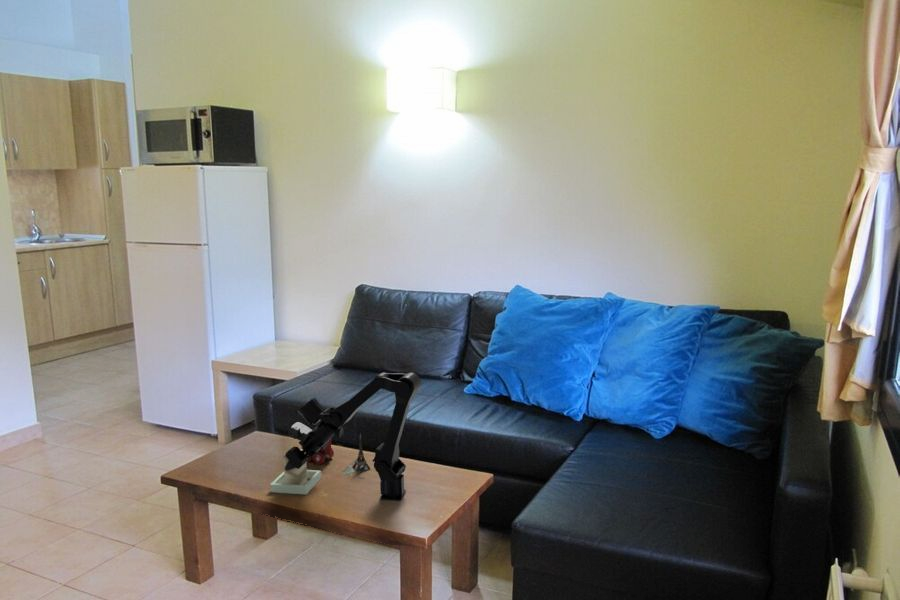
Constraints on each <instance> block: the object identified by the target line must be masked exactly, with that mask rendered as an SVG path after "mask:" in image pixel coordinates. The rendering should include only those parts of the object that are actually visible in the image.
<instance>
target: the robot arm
mask: <svg viewBox="0 0 900 600" xmlns="http://www.w3.org/2000/svg"><path fill="white" fill-rule="evenodd" d="M421 384H422V380H421V378H420V376H419V375H418V374H417V373H414V372H408V373H402V372H400V373H399V372H397V373H394V372H393V373H389V372H381V373H378V375H376V376H375V377H374V378H373V380H371V381H370V382H369V383H368V384H366V386H364V387H363V388H362V389H360V390H359V392H356V394H355V395H353V396H352V397H351V398H349V399H347V400H345V401H343V402H342V403H340V404H339V405H337V406H331V407H330V406H329V407H328V408H324V407H323V405H321V404H320V403H319V401H318V399H316V397H312V398H311V399H310V400H309V401H308V402H306V403H305V404H304V405H303V406H301V407H300V408H299V409H298V410H297V412H298V414H299V415H301V416H302V418H303V419H304V420H305V421H306V422H307V424H309V425H310V426H312V425H316V427H314V428H313V429H311V428H310V427H309V426H307V425H305V424H304V423H302V422H299V421H297V422H295V423H294V424H292V425H291V427H290V428H289V429H288V430H287V431H288V436H289V437H290V438H291V439H294V440H297V441H298V444H299V445H300V446H301V445H302V446H301V448H299V447H298V446H293V447H291V448H289V450H288V451H286V452H285V453H286V454H285V453H284V454H285V456H286V457H287V458H288V462H287V464H286V466H285V470H286V471H288V470H291V469H294V468H297V469H299V468H300V467H302V466H303V465H304V464H305V463H306V462H307V458H309V457H311V456H313V455H316V454H317V453H319V452H320V451H321V450H323V449H324V448H325V447H326V446H327V445H328V441H329V439H330V438H331V437H333V436H335V437H336V438H338V439H339V438H340V437H342V436H343V435H344V427H343V426H344V425H345V424H346V423H347V422H349V421H350V420H351V419H352V418H353V417H354V415H355V414H356V413H357V412H358V410H359V408H360V407H361V406H362V405H364V403H366V402H367V401H368V400H369V399H371V398H372V397H373V396H374V395H375V394H377V393H378V392H379V391H380V390H381V389H382V390H385V391H388V392H391V393H394V397H395V399H394V400H395V405H394V409H393V412H392V414H391V415H392V416H391V419H390V423H389V426H388V429H387V433H386V436H385V440H384V442H382V443H381V444H380V445H379V446H378V447H377V448H376V449H375V452H374V458H373V459H372V462H373V469H375V471H376V473H377V474H378V477H379V479H380V482H379V484H380V485H379V486H380V490H379V491H380V495H381V496H380V499H381V500H394V501H401V500H402V499H403V497H404V496H405V494H406V492H407V490H406V489H405V475H404V474H403V473H404V472H405V471H406V468H407V465H406V464H405V463H404V462H403V460H401V458H400V446H399V444H400V441H401V437H402V433H403V430H404V427H405V423H406V420H407V416H408V413H409V409H410V406H411V403H412V401H413V399H414V398H415V397H416V395H417V393H418V391H419V389H420V387H421ZM320 421H321V422H320ZM319 422H320V423H319ZM317 424H318V425H317ZM302 448H303V450H302V451H301V450H300V449H302ZM305 452H306V453H305ZM304 453H305V454H304ZM313 457H314V456H313ZM307 463H308V462H307Z"/></svg>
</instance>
